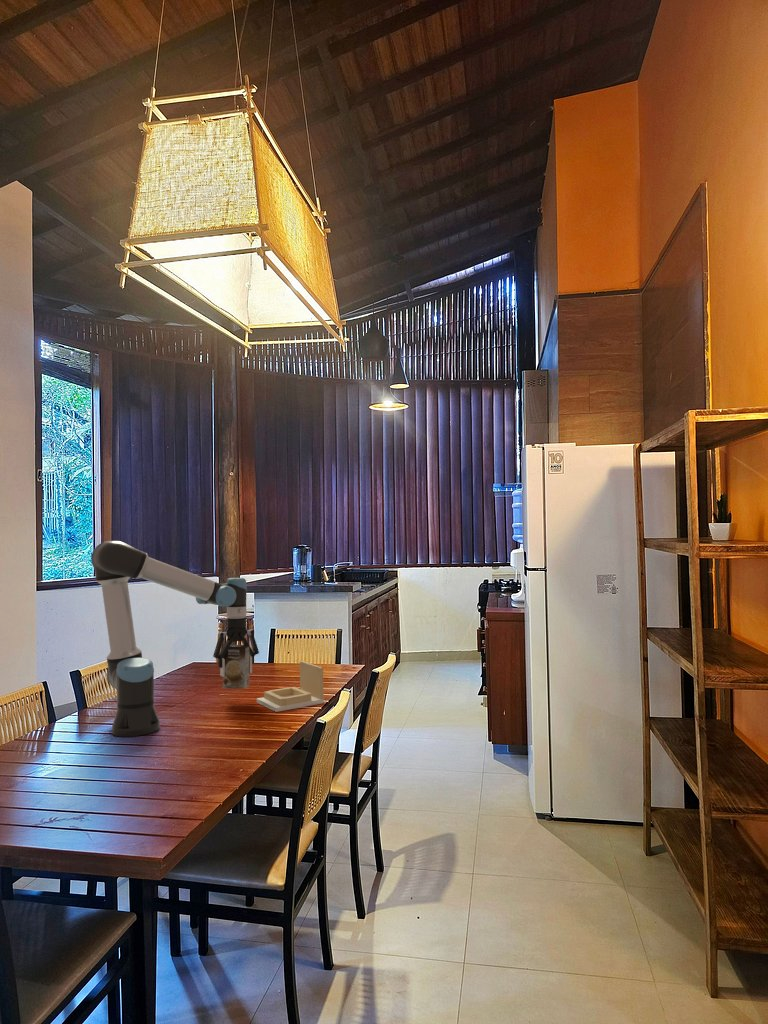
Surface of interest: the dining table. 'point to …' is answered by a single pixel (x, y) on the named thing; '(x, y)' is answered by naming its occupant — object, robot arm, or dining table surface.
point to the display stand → (297, 691)
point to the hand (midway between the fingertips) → (236, 674)
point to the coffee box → (236, 667)
